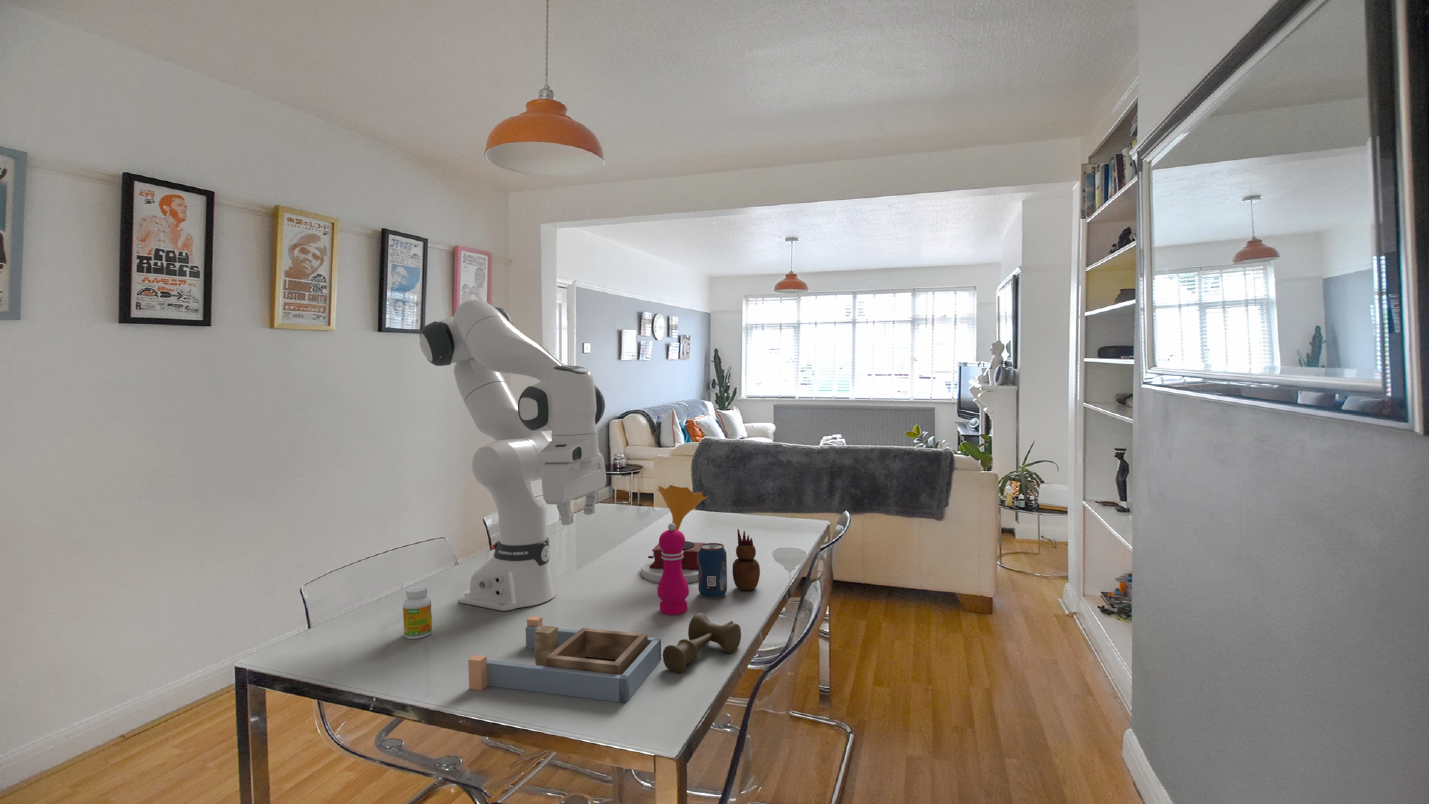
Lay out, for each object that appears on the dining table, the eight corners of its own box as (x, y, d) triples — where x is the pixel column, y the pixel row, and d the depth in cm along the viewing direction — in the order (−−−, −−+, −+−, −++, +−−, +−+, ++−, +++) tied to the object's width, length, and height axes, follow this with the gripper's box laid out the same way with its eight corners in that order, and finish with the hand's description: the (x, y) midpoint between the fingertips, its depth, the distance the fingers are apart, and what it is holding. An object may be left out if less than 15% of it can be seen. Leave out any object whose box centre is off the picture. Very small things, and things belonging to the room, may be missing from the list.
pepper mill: (685, 617, 143) (683, 527, 142) (653, 615, 145) (651, 526, 144) (692, 605, 150) (691, 520, 149) (662, 603, 152) (660, 519, 151)
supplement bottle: (404, 641, 132) (402, 594, 132) (403, 632, 137) (401, 587, 137) (433, 636, 135) (431, 590, 134) (431, 627, 140) (429, 583, 139)
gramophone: (709, 585, 165) (707, 487, 163) (631, 582, 168) (629, 486, 167) (722, 562, 185) (720, 475, 184) (652, 559, 188) (650, 474, 187)
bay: (469, 688, 112) (468, 659, 111) (532, 641, 131) (531, 616, 131) (621, 708, 104) (621, 677, 104) (664, 655, 124) (664, 628, 124)
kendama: (651, 669, 119) (713, 630, 136) (693, 684, 114) (752, 641, 130) (650, 638, 119) (713, 602, 135) (692, 651, 113) (752, 612, 130)
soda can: (700, 589, 161) (699, 542, 161) (728, 590, 160) (727, 542, 160) (697, 599, 154) (696, 549, 154) (726, 599, 154) (725, 549, 153)
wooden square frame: (519, 682, 113) (518, 643, 113) (557, 650, 126) (557, 615, 126) (619, 694, 108) (618, 653, 108) (648, 660, 121) (647, 623, 121)
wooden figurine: (729, 590, 160) (728, 530, 159) (737, 583, 165) (736, 525, 165) (755, 594, 157) (754, 532, 157) (762, 586, 163) (762, 527, 162)
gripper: (584, 443, 137) (587, 508, 137) (533, 454, 117) (537, 530, 117) (612, 442, 135) (615, 508, 136) (565, 454, 115) (569, 531, 116)
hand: (578, 519), depth 126 cm, fingers open, 8 cm apart
